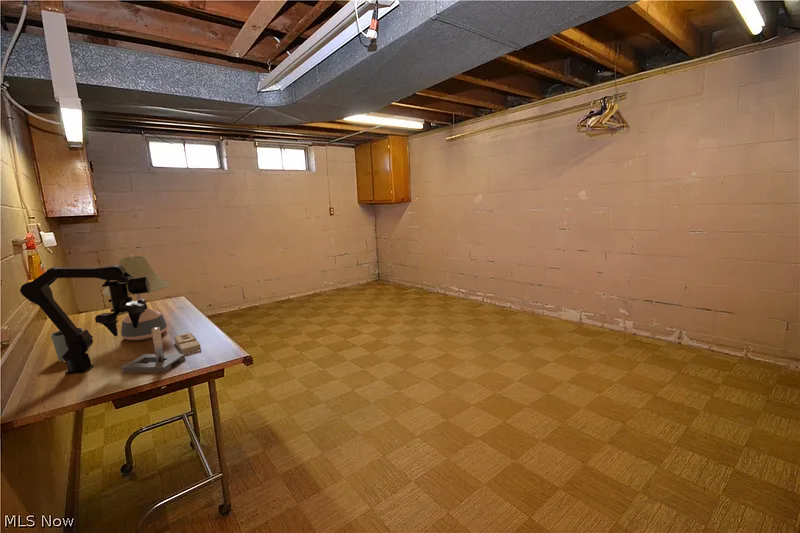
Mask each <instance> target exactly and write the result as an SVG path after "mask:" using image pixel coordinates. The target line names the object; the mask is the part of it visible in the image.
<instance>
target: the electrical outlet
mask: <svg viewBox="0 0 800 533" xmlns="http://www.w3.org/2000/svg"><path fill="white" fill-rule="evenodd" d="M173 339H174V344H175V346H176V347H177V349H178V351H179V352H180V354H185V355H188V353H189V354H193V353H196V352H199V351H198V350H200V351H202V348H201V343H200V342H199V340H197V338H196V336H195V335H194V334H193V333H192V332H187V333H182V334H179V335H175V336H174V338H173ZM195 351H196V352H195ZM192 352H193V353H192Z"/></svg>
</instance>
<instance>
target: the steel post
mask: <svg viewBox="0 0 800 533" xmlns="http://www.w3.org/2000/svg"><path fill="white" fill-rule="evenodd" d="M151 331H152V337H153V338H152V342H153V348H154V354H155V355H156V361H157V362H163V361H165V358H164V354H165V352H164V347H163V346H164V345H163V341H162V333H160V327H155V328H152V329H151Z"/></svg>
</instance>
